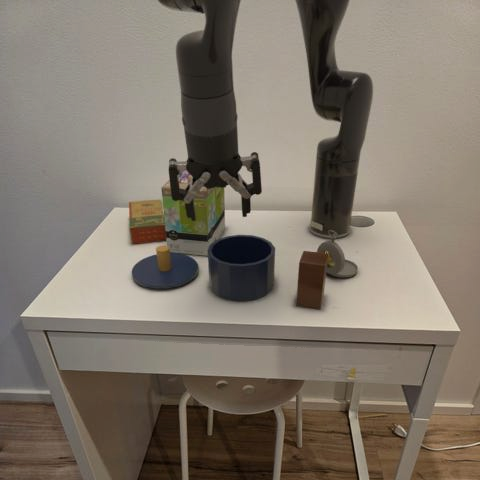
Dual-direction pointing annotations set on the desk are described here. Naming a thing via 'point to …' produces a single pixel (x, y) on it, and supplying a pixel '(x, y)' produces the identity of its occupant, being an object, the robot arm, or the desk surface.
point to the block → (311, 279)
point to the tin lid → (165, 269)
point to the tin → (241, 267)
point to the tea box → (193, 232)
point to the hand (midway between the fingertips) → (218, 216)
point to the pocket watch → (337, 259)
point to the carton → (146, 221)
